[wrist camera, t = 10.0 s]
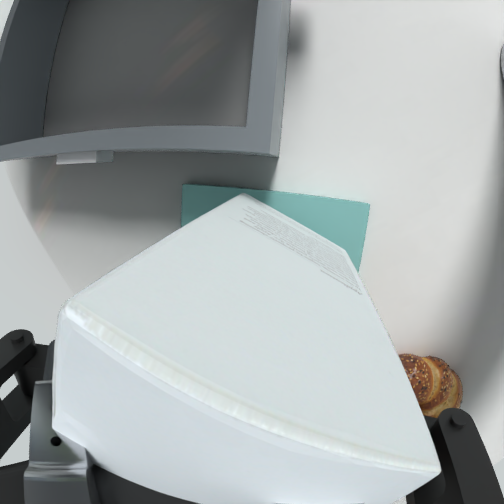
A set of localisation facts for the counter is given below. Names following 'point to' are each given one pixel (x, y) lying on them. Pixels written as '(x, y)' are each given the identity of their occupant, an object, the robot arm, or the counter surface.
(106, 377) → the small box
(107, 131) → the case
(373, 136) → the counter surface
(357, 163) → the counter surface
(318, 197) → the mat
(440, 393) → the pretzel
